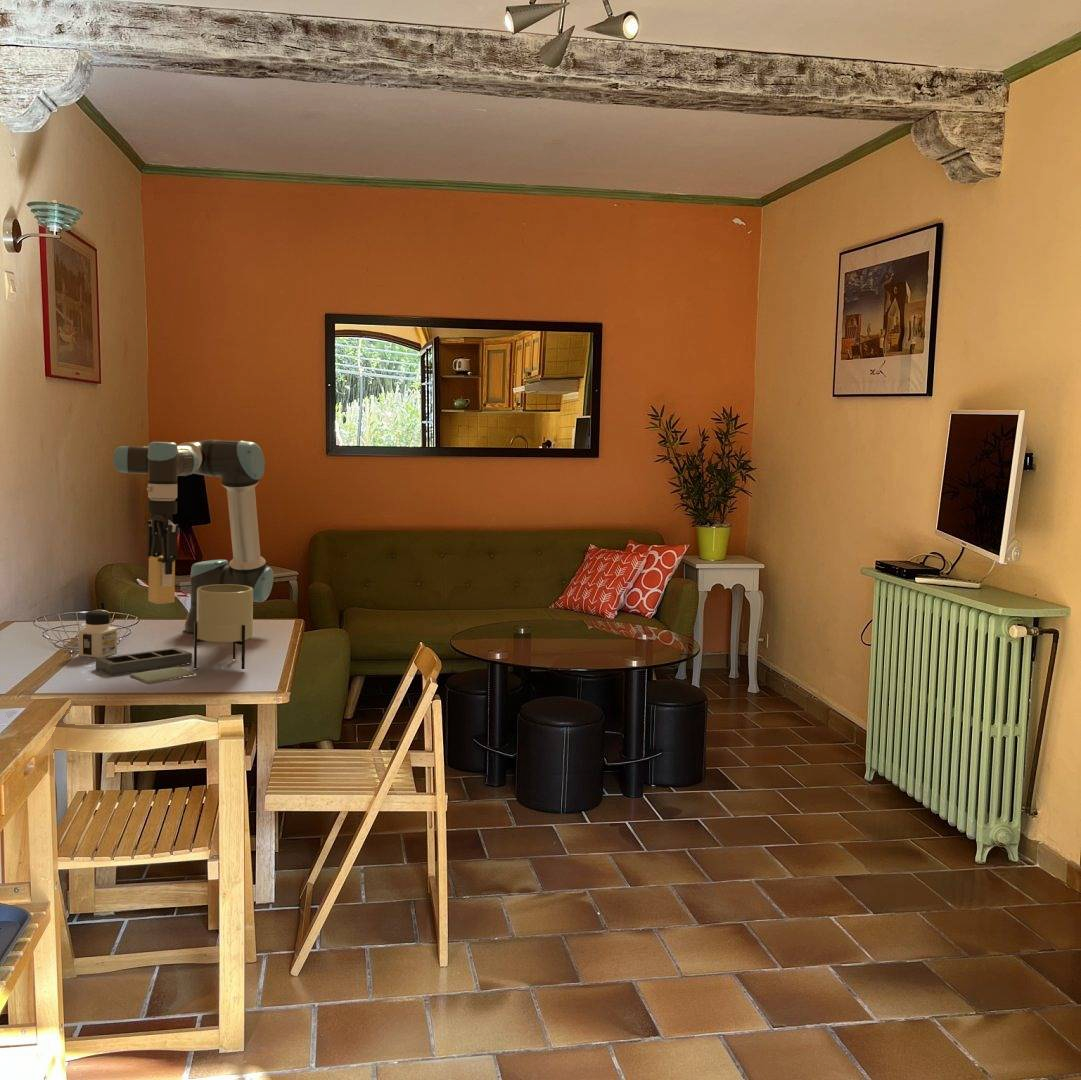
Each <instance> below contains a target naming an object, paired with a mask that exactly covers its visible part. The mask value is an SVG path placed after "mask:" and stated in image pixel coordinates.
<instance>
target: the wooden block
mask: <svg viewBox="0 0 1081 1080" xmlns="http://www.w3.org/2000/svg"><path fill="white" fill-rule="evenodd" d="M162 560H163V554H161V556H149V557H148V600H147V601H148V602H150V603H153V604H157V605H161V604H171V603H175V597H176V596H175V594H176V593H175V592H176V591H175V589H176V588H175V587H176V585H175V584H176V577H175V576H176V561H174V562H172V586H165V587H162V586H161V578H162V563H161V561H162Z"/></svg>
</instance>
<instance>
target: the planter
mask: <svg viewBox="0 0 1081 1080" xmlns="http://www.w3.org/2000/svg"><path fill="white" fill-rule="evenodd" d="M253 606H254V602H253V588H252V587H249V586H245V585H236V584H215V585H206V586H201V587H199V588H197V622H194V633H193V636H194V637H193V638H194V639H193V641H194V642H193V643H194V644H193V645H194V646H193V651H194V652H193V669H194V668H197V665H198V662H197V661H198V659H197V656H198V643H203V642H204V643H205V642H209V643H232V660H233V659H236V654H237V652H236V648H237V645H241V669H245V665H246V663H245V661H246V660H245V659H246V656H245V655H246V640H249V639H251V638H252V637H253V622H254V621H253V620H254V619H253V617H254V616H253V615H254V613H253V611H254V607H253ZM236 644H237V645H236ZM197 669H198V668H197ZM245 670H246V669H245Z"/></svg>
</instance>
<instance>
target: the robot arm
mask: <svg viewBox="0 0 1081 1080" xmlns="http://www.w3.org/2000/svg"><path fill="white" fill-rule="evenodd" d="M112 459H113V461H112V463H113V468H114V469H115V470H116V472H119V473H123V474H125V473H126V474H135V475H136V474H138V475H139V474H142V475H147V487H146V490H147V498H149V499H148V500H147V513H148V514H149V515H152V517H151V519H149V520H148V519H147V520H146V528H147V529H146V530H147V535H146V536H147V537H146V538H147V540H146V541H147V545H146V555H147V557H150V556H162V555H163V560H162V561H161V563H162V578H161V586H162V587H165V586H172V562H174V561H175V562H176V561H178V531H179V524H177V523H175V524H174V520H173V515H176V514H178V501H177V500H176V499H178V477H180V476H181V477H187V476H190V475H193V474H195V475H201V476H207V477H215V478H220V483H221V486H222V487H224V488H225V489H226V494H227V495H226V496H227V503H228V504H227V505H228V515H229V525H230V526H229V527H230V536H231V547H232V559H231V560H230V561H228V560H227V559H211V560H205V561H203V560H202V561H199V562H194V563H193V564H192V565H191V567H190V568H191V569H190V576H189V577H190V607H189V610H188V613H187V616H186V619H185V622H184V631H185V632H187V633H190V634H194V622H197V588H199V587H201V586H206V585H215V584H236V585H245V586H249V587H252V588H253V603H256V602H257V603H262V602H265V601H267V599H268V597H269V596H270V594H271V592H272V589H273V584H274V578H275V577H274V575H275V573H274V570H273V569H272V567H269V566H267V561H266V559H265V558H264V557H263V556H261V548H260V547H261V546H260V535H259V524H258V512H257V498H256V486H257V485H258V484H259V482H260V479H262V478H263V477H264V474H265V467H266V462H265V456H264V452H263V451H262V449H261V447H260V446H259V445H258V444H257V443H256V442H253V441H246V440H232V439H231V440H229V439H227V440H226V439H202V440H195V441H188V442H186V441H184V442H182V443H179V444H177V443H176V442H173V441H172V442H170V441H151V442H149V444H148V446H147V445H145V446H133V445H120V446H118V447H117V448H115V450H114V452H113V457H112Z"/></svg>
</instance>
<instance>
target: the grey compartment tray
mask: <svg viewBox="0 0 1081 1080" xmlns="http://www.w3.org/2000/svg"><path fill="white" fill-rule="evenodd" d="M187 663H191V664H193V653H192V652H189V651H188V650H184V649H182V648H179V647H172V648H164V649H156V650H149V651H141V652H132V653H128V654H127V653H126V654H120V655H119V654H118V655H113V656H112V655H110V656H106V657H103V658H96V657H95V670H97V671H99V672H101V673H104V674H106V675H109V676H110V677H111V676H115V675H116V676H118V675H122V674H124V675H125V674H132V673H139V672H145V671H152V670H159V669H166V668H172V667H178V666H183V665H182V664H185V665H188V664H187ZM177 665H178V666H177Z"/></svg>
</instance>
